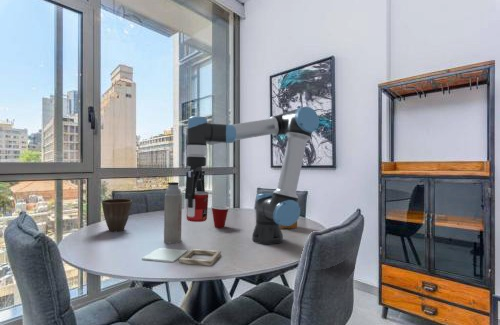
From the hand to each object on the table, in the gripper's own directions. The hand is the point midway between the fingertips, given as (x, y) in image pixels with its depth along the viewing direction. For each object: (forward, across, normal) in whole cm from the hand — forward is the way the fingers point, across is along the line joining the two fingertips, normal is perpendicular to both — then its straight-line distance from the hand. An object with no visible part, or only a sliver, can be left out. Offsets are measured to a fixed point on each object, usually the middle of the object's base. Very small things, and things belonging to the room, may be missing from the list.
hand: (195, 214), depth 111 cm
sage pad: (+17, 0, -12) cm, 21 cm away
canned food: (+2, 0, +1) cm, 3 cm away
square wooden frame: (+17, 0, +3) cm, 18 cm away
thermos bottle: (+18, -20, -19) cm, 33 cm away
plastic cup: (+17, -54, -6) cm, 57 cm away
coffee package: (+17, -63, +33) cm, 73 cm away
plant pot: (+18, -33, -58) cm, 69 cm away
